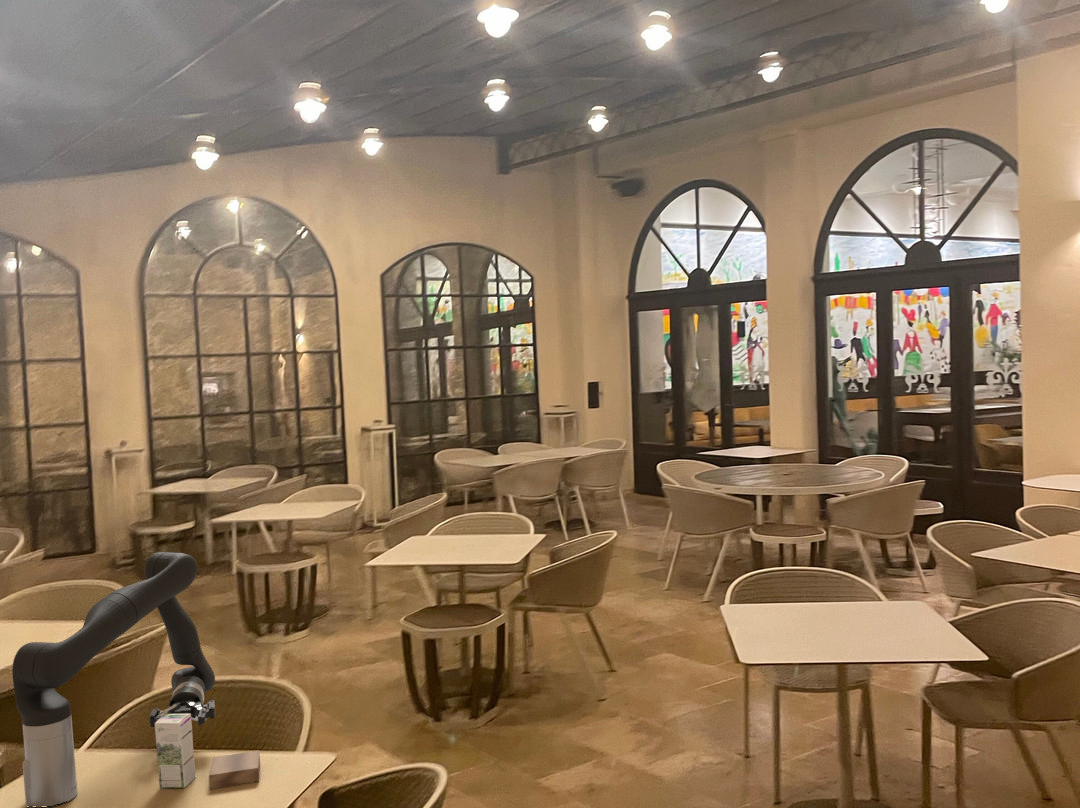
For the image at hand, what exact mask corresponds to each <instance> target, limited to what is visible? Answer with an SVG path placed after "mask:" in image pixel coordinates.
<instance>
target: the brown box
mask: <svg viewBox="0 0 1080 808" xmlns="http://www.w3.org/2000/svg"><path fill="white" fill-rule="evenodd" d="M260 756H261V754H260V749H259V750H253V751H246V752H238V753H232V754H226V755H221V756H212V757H211V762H210V766H209V767H210V768H209V772H208V773H209V774H208V782H209V790H212V789H211V788H215V789H219V788H218V787H221V788H226V787H225V786H227V787H232V786H231V785H234V786H238V785H237V784H240V785H244V784H243V783H246V784H250V783H249V782H253V783H255V782H254V781H259V782H260V774H259V772H260V770H261V757H260Z"/></svg>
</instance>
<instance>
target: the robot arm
mask: <svg viewBox="0 0 1080 808" xmlns="http://www.w3.org/2000/svg"><path fill="white" fill-rule="evenodd" d="M198 568H199V567H198V562H197V561H196V559H195V558H194V557H193V556H192V555H190V554H187V553H183V552H167V551H158V552H154V553H152V554H151V555H149V557H148V558H147V560H146V562H145V564H144V578H145V580H144V579H143V580H141V581H138V582H135V583H132V584H129V585H126V586H123V587H121V588H118V589H116V590H114V591H112V592H111V593H109V594H107V595H106V596H104V597H103V598H101V599H100V600H99V601H98V602H96V603H94V605H92V607H90V609H89V611H87V613H86V616H85V618H84V621H83V624H82V625H83V626H82V627H81V628H80V629H79V630H78V631H77V632H75V633H74V634H72V635H71V636H69V637H68V638H66V639H64V640H62V641H59V642H45V641H34V642H33V641H30V642H27V643H25V644H24V645H22V646H21V647H20V648H18V650H17V652H16V653H15V655H14V657H13V660H12V661H13V662H12V669H11V670H12V671H11V672H12V673H11V674H12V683H13V684H12V685H13V690H14V697H15V698H14V699H15V705H16V709H17V711H18V713H19V715H20V716H21V720H22V721H21V723H22V735H23V748H24V760H23V762H22V772H23V786H24V796H25V797H24V799H25V807H26V806H36V807H42V806H51V805H56V804H60V803H63V802H65V803H67V802H69V801H71V800H73V799H74V798H75V797H76V796H77V795H78V780H77V770H76V757H75V747H74V746H75V745H74V732H73V730H74V729H73V720H72V719H73V718H72V706H71V702H70V701H69V700H68V699H67V698H66V697H64V696H63V695H61V694H60V693H58V691H57V690H56V689H57V688H60V687H62V686H64V685H65V684H67V683H68V682H69V681H71V680H72V679H73V678H74V677H75V676H76V675H77V674H78V673H79V672H80V671H81V670H82V669H83V668H84V667H85V666H86V665H88V663H89V662H90V661H91V660H92V659H93V658H95V656H97V655H98V654H99V653H100V652H102V651H103V650H104V649H105V648H106V647H108V646H109V645H111V643H113V642H114V641H115V640H116V639H118V638H119V637H121V636H122V635H124V634H125V633H126V632H127V631H129V630H130V629H131V628H132V627H134V626H135V625H136V624H137V623H139V621H141V620H142V619H144V618H145V617H147V616H148V615H149V614H150V613H152V612H153V611H154V610H155V609H157V610H158V613H159V615H160V618H161V620H162V622H163V624H164V627H165V631H166V634H167V637H168V643H169V646H170V651H171V655H172V656H171V657H172V660H173V661H174V663H175V664H177V665H180V666H188V667H184V668H180V669H178V670H175V672H174V673H173V674H172V675H171V680H170V681H171V682H170V683H171V689H172V691H173V692H172V695H171V697H170V701H169V703H168V707H166V708H165V709H164V710H163V709H162V710H161V709H160V707H154V708H153V709H152V710H151V711H150V714H149V716H148V719H149V727H150V728H155V723H156V722H157V721H158V720H159V719H160V718H161V717H163V716H164V715H166V714H191V722H193V721H195V722H198V723H197V724H198V726H199V727H200V726H201V727H202V725H203V724H205V723H206V721H207V719H208V718H209V719H211V720H212V719H215V718H216V705H215V704H216V703H215V699H214V700H213V699H211V700H209V701H208V702H207V703H206V704H204V702H205V693H206V692H208V691H210V690H212V689H213V688H214V686H215V684H216V683H215V682H216V676H215V672H214V670H213V668H212V667H211V665H210V664H209V661H208V660H207V658H206V657H205V655H204V652H203V650H202V646H201V642H200V637H199V633H198V628H197V627H196V624H195V623H194V621H193V620H192V618H191V617H190V615H189V614H188V613H187V611H186V610H185V609H184V607H183V606H182V605H181V604H180V602H179V600H178V599H177V597H176V596H177V595H178V594H180V593H182V592H184V591H185V590H187V589H188V588H189V587H190V586H191V584H193V582H194V581H195V579H196V578H197V573H198ZM66 801H67V802H66ZM63 804H64V803H63ZM60 805H61V804H60ZM56 806H57V805H56Z"/></svg>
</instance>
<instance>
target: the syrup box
mask: <svg viewBox="0 0 1080 808" xmlns="http://www.w3.org/2000/svg"><path fill="white" fill-rule="evenodd" d="M192 722H193V721H191V714H166V715H164V716H163V717H161V718H160V719H159V720H158V721H157V722H156V723H155V726H154V731H155V732H154V733H155V743H156V744H155V745H156V755H157V756H156V757H157V759H156V760H157V768H158V781H159V789H185V788H186V787H188V785H190V783H192V782H193V781H194V780H195V778H196V776H197V775H196V766H195V765H196V764H195V757H194V756H195V754H194V743H193V742H194V740H193V738H194V737H193V725H192Z"/></svg>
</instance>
